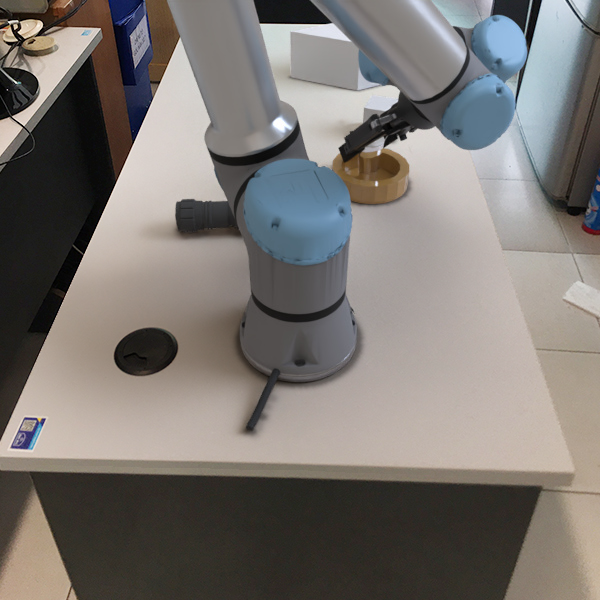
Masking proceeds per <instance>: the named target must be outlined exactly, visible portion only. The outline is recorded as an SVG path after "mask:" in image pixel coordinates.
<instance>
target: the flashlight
mask: <svg viewBox="0 0 600 600" xmlns="http://www.w3.org/2000/svg"><path fill="white" fill-rule="evenodd" d="M174 212H175V213H174V217H175V223H176V228H177V231H178V232H183V233H184V234H185V233H186V234H187V233H197V232H198V231H204V230H214V229H229V228H230V227H231V228H235V230H236V231H240V230H239V227H238V225H237V223H236V220H235V218H234V215H233V213H232V210H231V208H230V206H229V203H228V201H227V200H218V201H217V200H216V201H215V200H213V201H212V200H205V201H204V200H196V199H195V198H183V199H181V200H180V201H179V200H177V201H176V202H175V211H174Z"/></svg>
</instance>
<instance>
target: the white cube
mask: <svg viewBox="0 0 600 600" xmlns="http://www.w3.org/2000/svg"><path fill="white" fill-rule="evenodd" d="M397 102H398V98H396V97H389V96H388V97H387V96H383V95H376V94H372V95H371V96H370V97H369V99H368V101H367V102H366V104H365V105H364V107H363V113H362V115H363V117H362V124H363V123H364V122H366V121H367V120H368V119H369V117H370V116H372V115H373V114H377V115H379V117H380V115H381V114H382V113H384V112H385V111H387V110H389V109H390V108H391V106H392V105H394V104H395V103H397Z"/></svg>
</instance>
